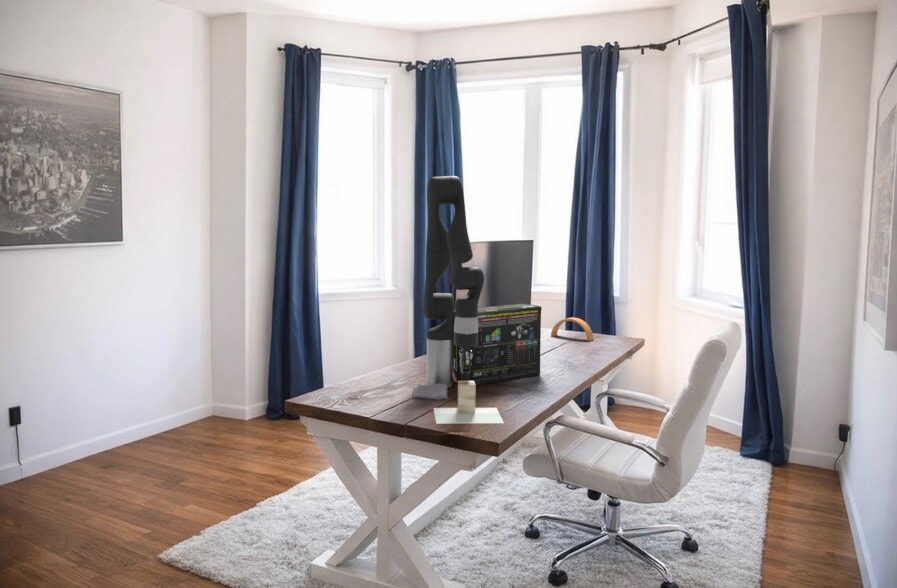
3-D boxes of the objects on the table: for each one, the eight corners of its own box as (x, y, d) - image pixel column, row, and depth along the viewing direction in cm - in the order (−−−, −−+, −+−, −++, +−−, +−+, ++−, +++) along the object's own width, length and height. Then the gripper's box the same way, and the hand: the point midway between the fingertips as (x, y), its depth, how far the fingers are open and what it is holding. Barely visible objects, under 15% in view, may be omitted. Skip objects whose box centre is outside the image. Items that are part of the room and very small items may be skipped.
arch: (588, 341, 341) (589, 321, 340) (550, 336, 352) (551, 316, 351) (593, 339, 346) (594, 319, 345) (555, 335, 357) (556, 315, 356)
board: (433, 409, 224) (433, 407, 224) (496, 409, 226) (496, 407, 226) (436, 425, 209) (436, 423, 209) (504, 425, 210) (504, 423, 210)
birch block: (457, 408, 224) (457, 380, 223) (473, 408, 224) (473, 380, 223) (458, 413, 219) (459, 384, 218) (475, 413, 219) (475, 384, 218)
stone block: (448, 406, 235) (447, 393, 244) (448, 393, 233) (447, 380, 243) (412, 407, 235) (412, 394, 244) (411, 394, 233) (412, 381, 243)
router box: (522, 369, 281) (524, 302, 278) (541, 375, 272) (544, 306, 269) (448, 381, 261) (449, 309, 257) (466, 388, 252) (467, 313, 248)
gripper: (452, 326, 230) (451, 379, 232) (456, 334, 217) (455, 389, 219) (475, 326, 231) (474, 379, 233) (480, 334, 218) (479, 389, 220)
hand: (465, 384), depth 226 cm, fingers closed
